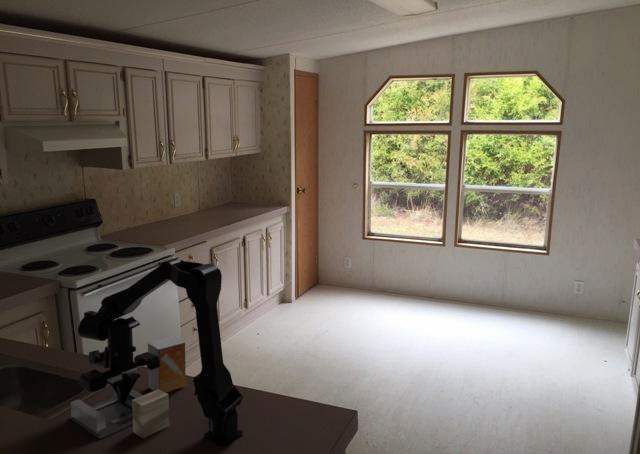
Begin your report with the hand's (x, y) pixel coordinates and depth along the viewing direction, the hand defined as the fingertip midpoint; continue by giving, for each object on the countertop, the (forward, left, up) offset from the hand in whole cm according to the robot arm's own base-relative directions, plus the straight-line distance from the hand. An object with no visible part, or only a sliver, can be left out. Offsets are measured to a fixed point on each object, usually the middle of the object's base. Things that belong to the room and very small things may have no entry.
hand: (122, 403), depth 126 cm
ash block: (-12, 0, -3) cm, 12 cm away
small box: (+3, -15, -3) cm, 16 cm away
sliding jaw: (0, -2, -1) cm, 3 cm away
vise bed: (0, +2, -2) cm, 3 cm away
